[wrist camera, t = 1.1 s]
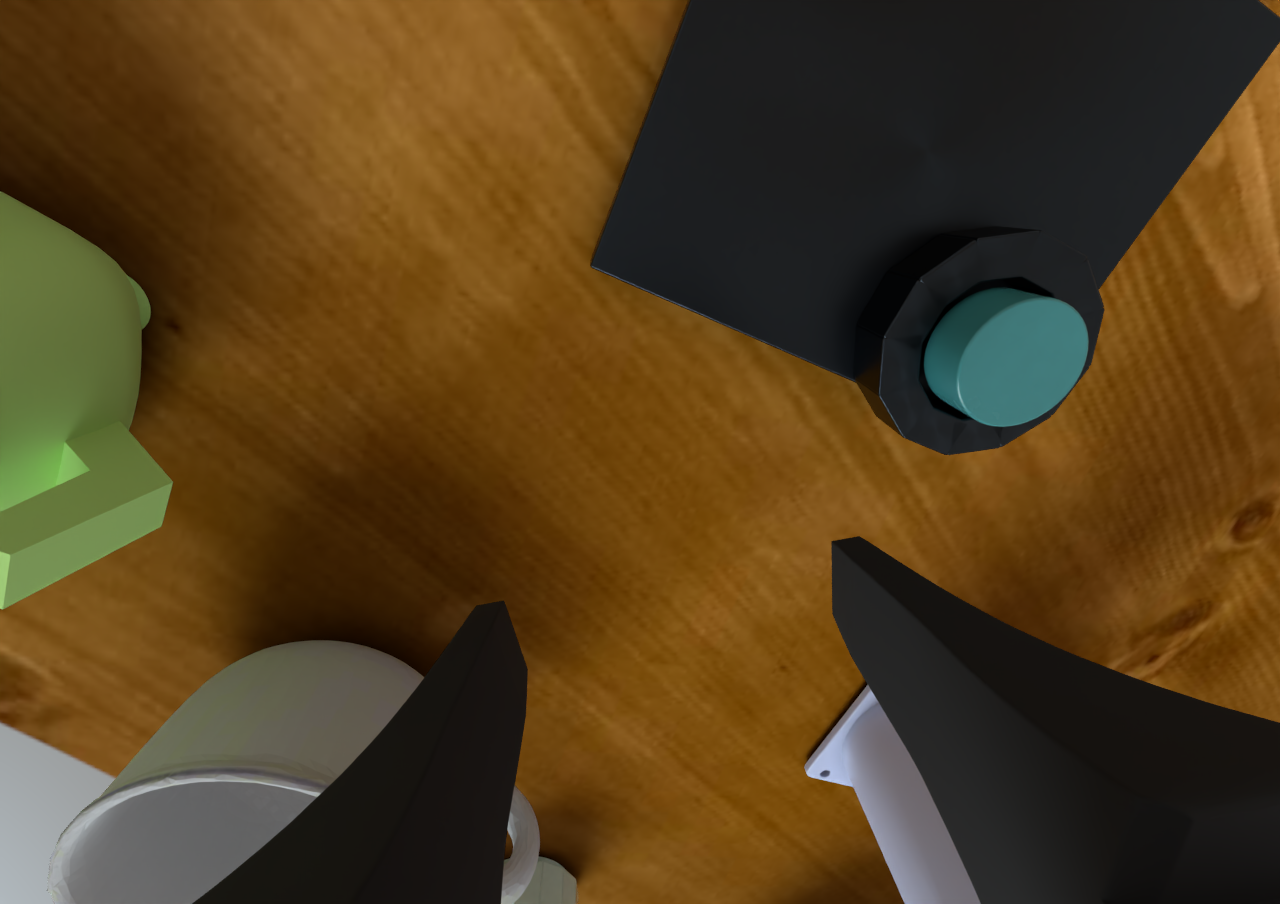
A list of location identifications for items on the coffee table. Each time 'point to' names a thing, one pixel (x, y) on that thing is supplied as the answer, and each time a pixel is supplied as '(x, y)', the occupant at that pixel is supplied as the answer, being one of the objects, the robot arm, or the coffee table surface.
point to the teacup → (243, 776)
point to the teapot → (68, 405)
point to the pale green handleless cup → (549, 885)
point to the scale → (915, 168)
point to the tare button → (1006, 355)
